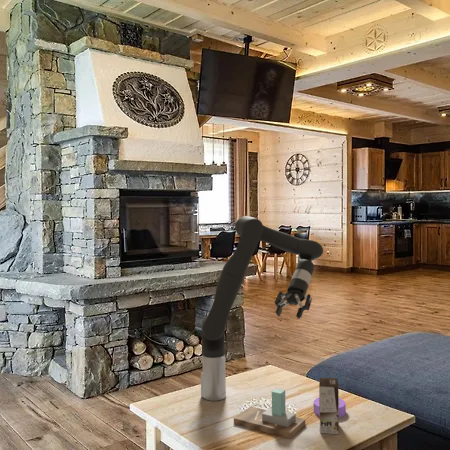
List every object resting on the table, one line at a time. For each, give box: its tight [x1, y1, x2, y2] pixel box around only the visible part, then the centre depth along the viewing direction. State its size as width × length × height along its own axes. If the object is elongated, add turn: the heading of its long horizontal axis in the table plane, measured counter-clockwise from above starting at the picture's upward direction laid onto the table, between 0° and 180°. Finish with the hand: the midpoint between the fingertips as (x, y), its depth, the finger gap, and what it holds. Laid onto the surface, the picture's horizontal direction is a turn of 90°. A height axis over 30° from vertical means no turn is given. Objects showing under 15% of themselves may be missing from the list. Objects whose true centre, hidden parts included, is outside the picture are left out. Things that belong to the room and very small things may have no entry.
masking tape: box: [313, 397, 347, 419], centre depth 185 cm, size 12×12×4 cm
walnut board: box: [233, 406, 306, 440], centre depth 176 cm, size 22×12×2 cm, turn 57°
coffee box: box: [318, 377, 340, 435], centre depth 171 cm, size 9×6×16 cm
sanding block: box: [262, 387, 297, 427], centre depth 173 cm, size 10×6×10 cm, turn 57°
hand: (287, 316), depth 194 cm, fingers open, 8 cm apart
